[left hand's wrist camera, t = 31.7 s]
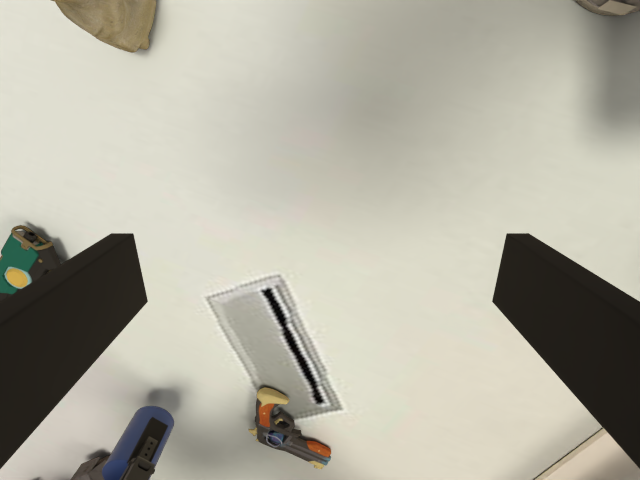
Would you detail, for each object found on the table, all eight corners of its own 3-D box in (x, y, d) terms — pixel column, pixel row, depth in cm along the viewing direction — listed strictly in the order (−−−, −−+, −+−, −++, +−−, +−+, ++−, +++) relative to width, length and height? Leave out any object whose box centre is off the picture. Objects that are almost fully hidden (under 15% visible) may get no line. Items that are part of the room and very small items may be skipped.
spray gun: (43, 344, 54) (-35, 270, 50) (117, 299, 50) (39, 214, 46) (19, 363, 50) (-67, 284, 46) (97, 316, 46) (10, 224, 42)
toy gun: (262, 392, 54) (227, 436, 55) (355, 437, 59) (321, 475, 61) (262, 380, 56) (229, 422, 58) (352, 424, 61) (319, 461, 63)
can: (182, 419, 54) (157, 475, 46) (159, 440, 55) (132, 497, 47) (148, 399, 52) (117, 453, 44) (126, 420, 54) (92, 476, 46)
